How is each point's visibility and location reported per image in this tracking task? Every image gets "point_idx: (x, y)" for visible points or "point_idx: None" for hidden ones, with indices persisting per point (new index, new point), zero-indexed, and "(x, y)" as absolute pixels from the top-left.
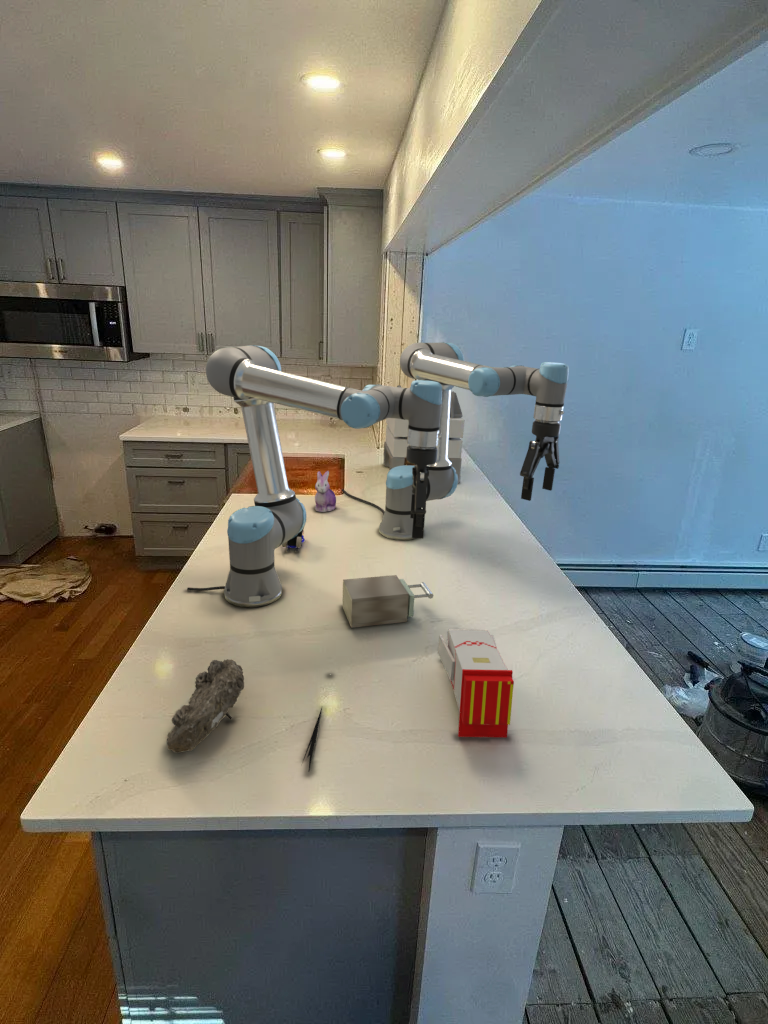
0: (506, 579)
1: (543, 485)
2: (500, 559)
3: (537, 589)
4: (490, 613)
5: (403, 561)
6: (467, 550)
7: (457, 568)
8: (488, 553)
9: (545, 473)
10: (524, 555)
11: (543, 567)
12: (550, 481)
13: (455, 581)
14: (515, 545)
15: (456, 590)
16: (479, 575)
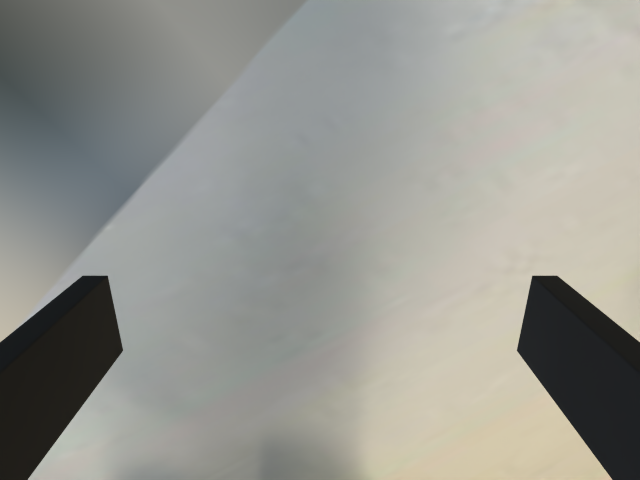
0: (380, 196)
1: (106, 364)
2: (262, 277)
3: (378, 87)
4: (624, 122)
5: (467, 436)
6: (281, 370)
7: (411, 329)
8: (251, 322)
9: (21, 472)
10: (172, 240)
11: (205, 150)
12: (57, 343)
13: (491, 292)
14: (126, 295)
15: (542, 263)
16: (411, 266)
